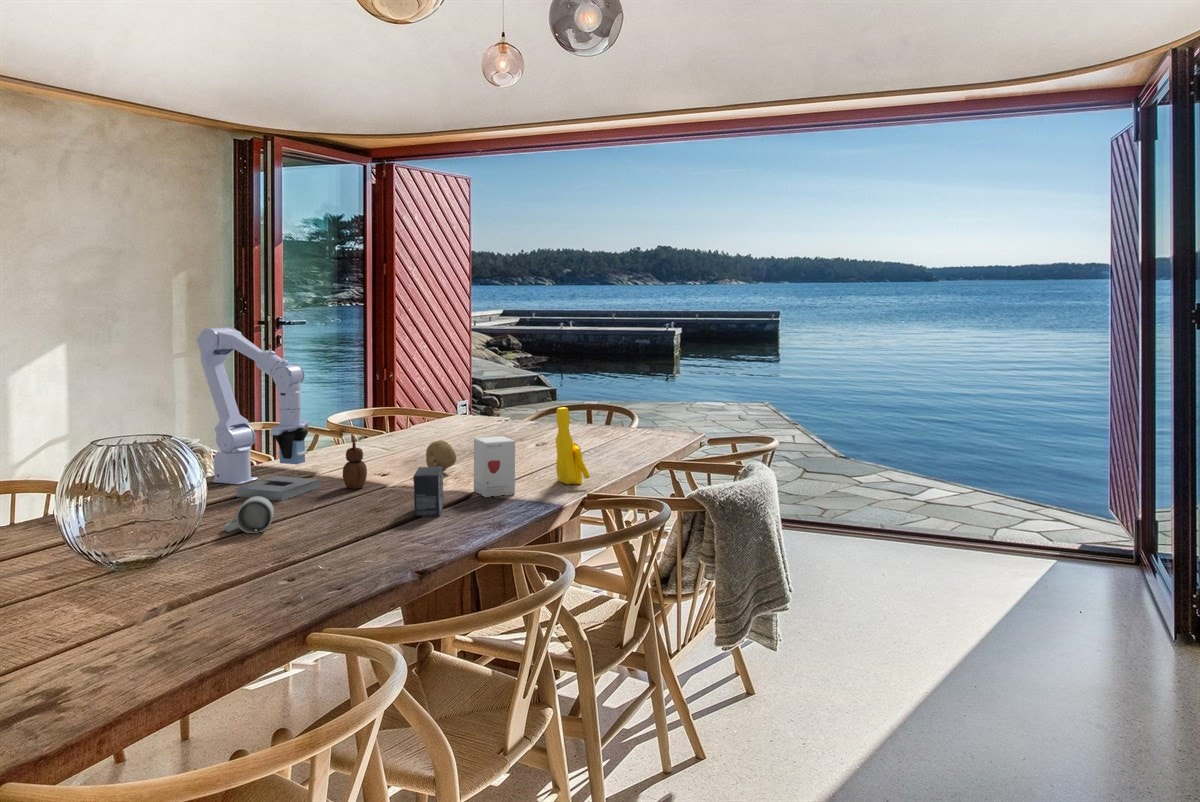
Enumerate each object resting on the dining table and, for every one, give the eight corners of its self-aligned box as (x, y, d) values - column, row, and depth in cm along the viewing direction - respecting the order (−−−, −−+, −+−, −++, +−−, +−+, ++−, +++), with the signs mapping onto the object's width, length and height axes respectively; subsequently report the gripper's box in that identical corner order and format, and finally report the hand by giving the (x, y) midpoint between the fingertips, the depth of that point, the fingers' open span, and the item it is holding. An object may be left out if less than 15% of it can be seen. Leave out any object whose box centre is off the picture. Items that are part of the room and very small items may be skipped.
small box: (418, 506, 223) (417, 466, 222) (444, 506, 223) (443, 466, 222) (413, 517, 212) (412, 474, 211) (440, 516, 213) (439, 474, 212)
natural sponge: (459, 470, 268) (459, 438, 267) (451, 476, 259) (451, 443, 258) (430, 469, 269) (430, 437, 268) (422, 475, 260) (421, 442, 259)
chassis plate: (237, 497, 231) (236, 487, 231) (276, 484, 246) (275, 475, 246) (281, 501, 227) (281, 491, 227) (318, 488, 242) (318, 479, 242)
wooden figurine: (359, 491, 240) (357, 437, 238) (339, 489, 241) (338, 436, 239) (370, 485, 246) (369, 433, 244) (351, 484, 247) (350, 432, 245)
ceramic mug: (275, 523, 205) (273, 491, 204) (273, 532, 197) (271, 499, 196) (226, 527, 202) (224, 495, 201) (222, 537, 194) (220, 503, 193)
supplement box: (484, 498, 233) (483, 442, 231) (473, 491, 241) (472, 437, 239) (516, 494, 237) (515, 440, 235) (503, 488, 245) (503, 435, 243)
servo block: (276, 462, 242) (275, 441, 242) (284, 460, 246) (283, 439, 245) (300, 464, 240) (299, 443, 240) (308, 462, 244) (307, 441, 243)
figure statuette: (595, 487, 246) (596, 410, 244) (570, 490, 243) (571, 412, 240) (567, 475, 262) (568, 403, 259) (543, 478, 258) (544, 404, 256)
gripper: (286, 412, 233) (288, 462, 235) (318, 406, 247) (319, 453, 249) (263, 411, 235) (265, 461, 237) (296, 404, 249) (298, 451, 251)
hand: (291, 457), depth 243 cm, fingers closed on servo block, 4 cm apart
